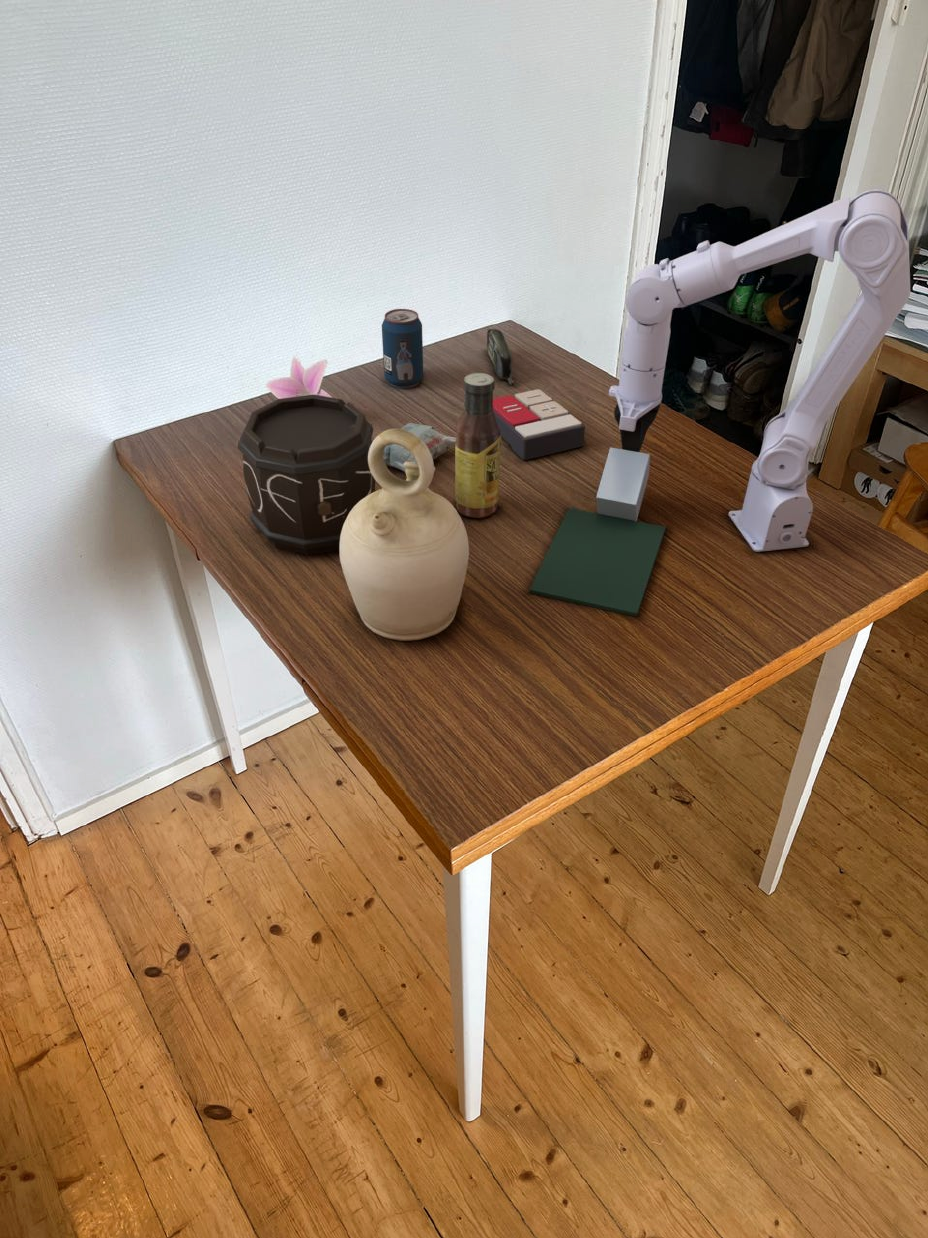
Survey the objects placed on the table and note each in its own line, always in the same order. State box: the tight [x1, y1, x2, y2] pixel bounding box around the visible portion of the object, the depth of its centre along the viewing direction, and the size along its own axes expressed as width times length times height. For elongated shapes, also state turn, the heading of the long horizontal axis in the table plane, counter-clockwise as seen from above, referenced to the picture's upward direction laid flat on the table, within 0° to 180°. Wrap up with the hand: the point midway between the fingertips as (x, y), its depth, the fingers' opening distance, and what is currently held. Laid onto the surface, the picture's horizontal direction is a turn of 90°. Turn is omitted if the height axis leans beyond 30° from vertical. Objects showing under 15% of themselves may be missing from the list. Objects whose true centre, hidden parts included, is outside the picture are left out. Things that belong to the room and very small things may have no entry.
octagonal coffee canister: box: [237, 395, 377, 556], centre depth 125 cm, size 18×18×16 cm
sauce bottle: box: [454, 372, 502, 519], centre depth 127 cm, size 6×6×20 cm
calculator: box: [493, 389, 586, 461], centre depth 149 cm, size 11×4×15 cm
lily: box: [265, 356, 333, 400], centre depth 152 cm, size 12×12×10 cm
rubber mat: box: [528, 507, 667, 617], centre depth 124 cm, size 20×14×1 cm
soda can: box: [381, 308, 424, 389], centre depth 160 cm, size 7×7×12 cm
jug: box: [339, 428, 470, 642], centre depth 108 cm, size 15×16×25 cm
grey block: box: [595, 446, 651, 521], centre depth 130 cm, size 8×6×6 cm
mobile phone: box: [486, 328, 515, 386], centre depth 167 cm, size 5×3×15 cm
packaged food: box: [383, 422, 456, 473], centre depth 141 cm, size 9×12×5 cm
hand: (630, 452), depth 130 cm, fingers closed
